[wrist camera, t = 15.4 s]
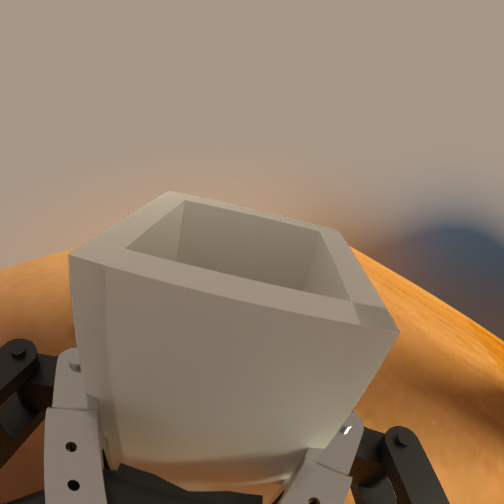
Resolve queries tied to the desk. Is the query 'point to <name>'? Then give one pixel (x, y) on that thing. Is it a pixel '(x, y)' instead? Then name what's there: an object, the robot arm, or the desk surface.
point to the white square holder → (223, 340)
